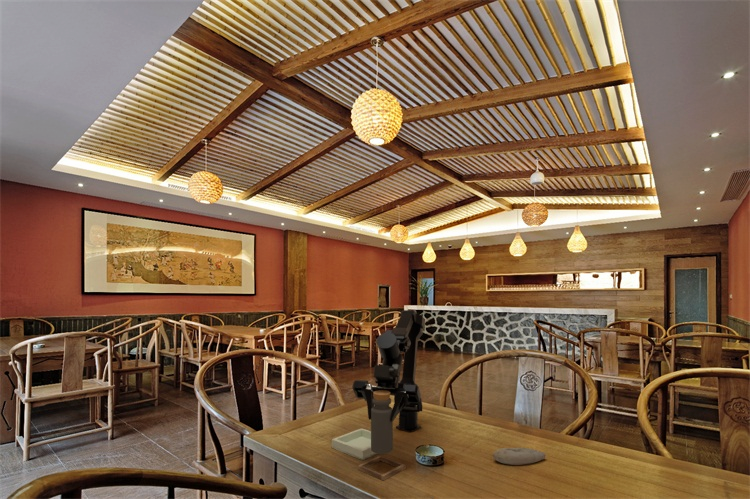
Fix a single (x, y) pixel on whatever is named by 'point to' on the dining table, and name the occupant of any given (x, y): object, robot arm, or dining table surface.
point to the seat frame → (378, 475)
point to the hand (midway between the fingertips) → (380, 420)
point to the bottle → (381, 423)
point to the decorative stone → (518, 456)
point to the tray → (355, 444)
